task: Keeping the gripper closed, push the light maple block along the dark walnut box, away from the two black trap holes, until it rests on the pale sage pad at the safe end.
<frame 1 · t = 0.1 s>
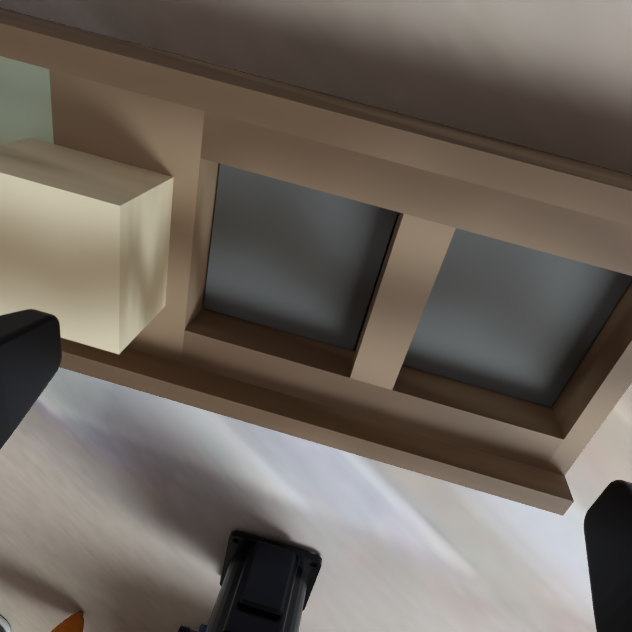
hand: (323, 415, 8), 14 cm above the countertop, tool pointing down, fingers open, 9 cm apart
maple block: (102, 227, 20), point 2 cm above the countertop, touching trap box
carrot: (82, 610, 43), on the countertop
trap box: (274, 250, 22), on the countertop
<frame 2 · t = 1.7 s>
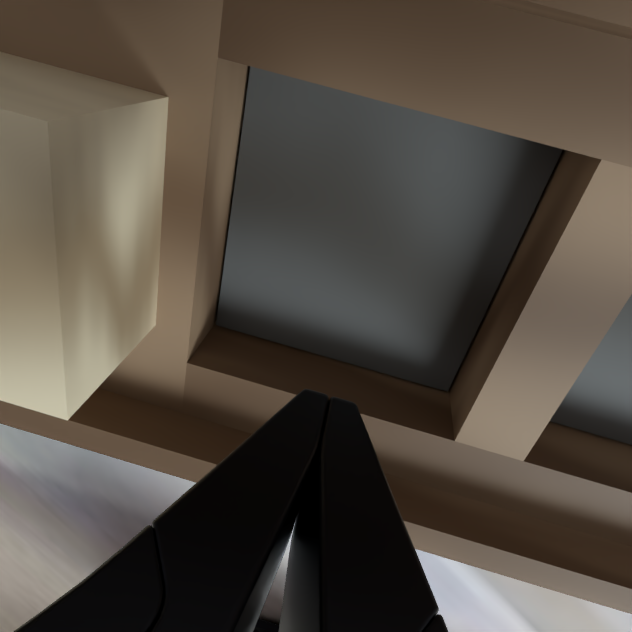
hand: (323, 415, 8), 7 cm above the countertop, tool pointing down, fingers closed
maple block: (47, 193, 12), point 2 cm above the countertop, touching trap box
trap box: (330, 234, 14), on the countertop
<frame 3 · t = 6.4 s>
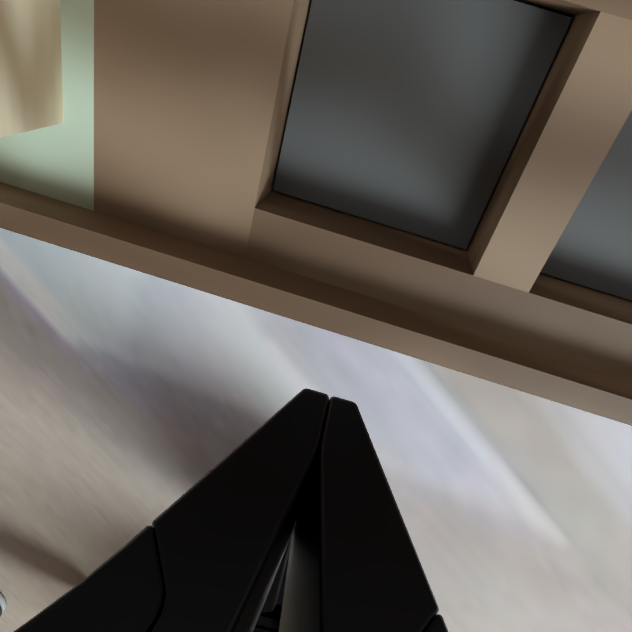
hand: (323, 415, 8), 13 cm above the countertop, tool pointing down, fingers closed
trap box: (376, 105, 17), on the countertop
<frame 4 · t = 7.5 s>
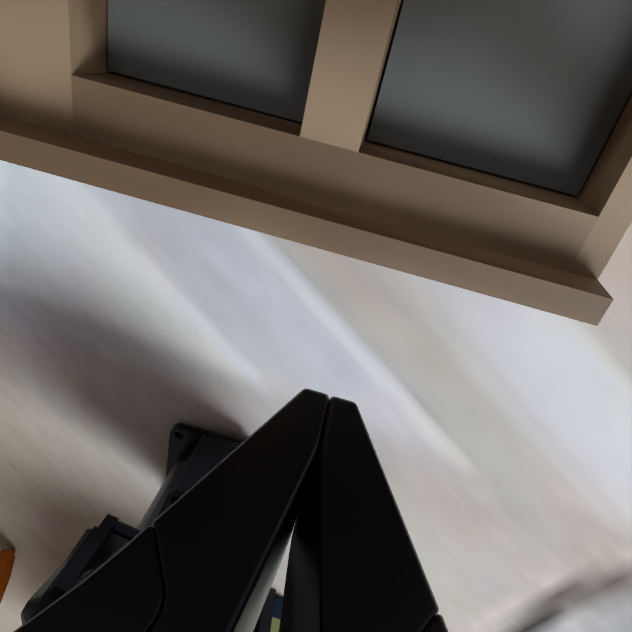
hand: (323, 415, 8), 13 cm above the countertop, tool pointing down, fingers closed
carrot: (13, 547, 36), on the countertop
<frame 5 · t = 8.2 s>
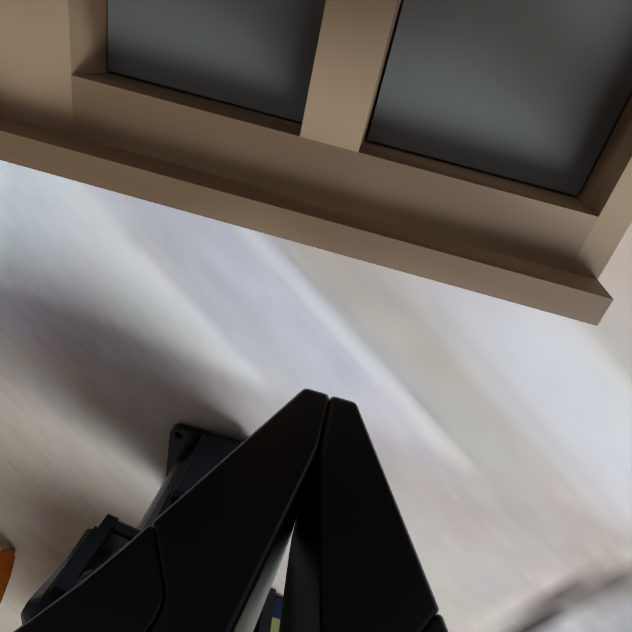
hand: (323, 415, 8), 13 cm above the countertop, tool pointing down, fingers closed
carrot: (13, 547, 36), on the countertop
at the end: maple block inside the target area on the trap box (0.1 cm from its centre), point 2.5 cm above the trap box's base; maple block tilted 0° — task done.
